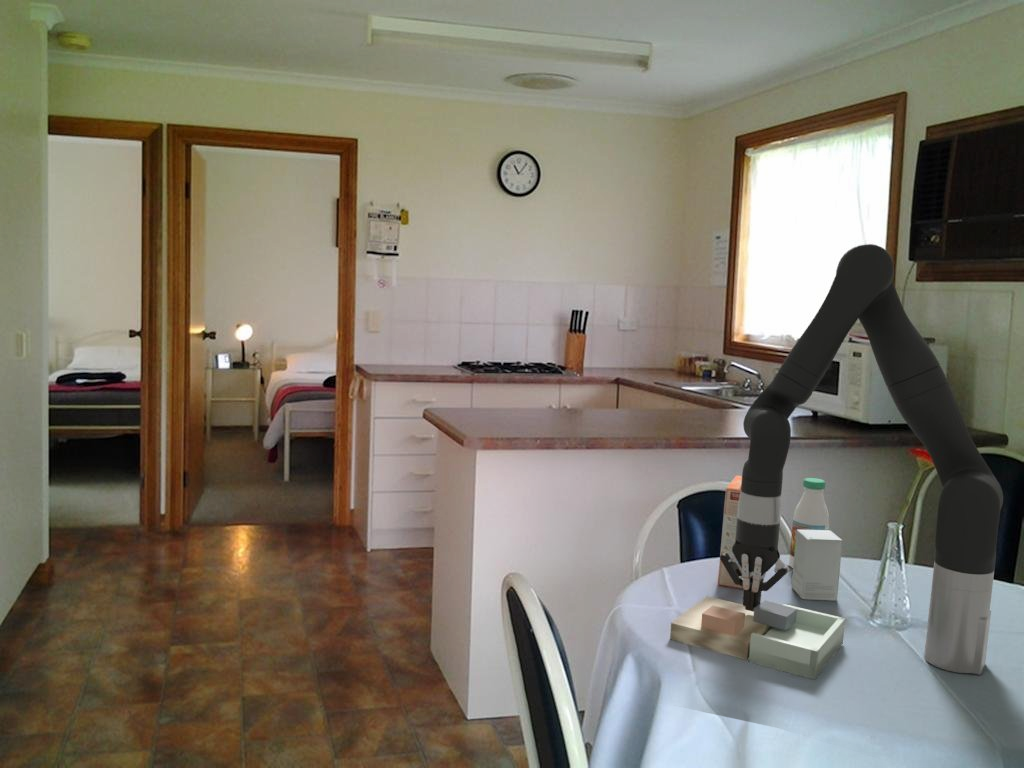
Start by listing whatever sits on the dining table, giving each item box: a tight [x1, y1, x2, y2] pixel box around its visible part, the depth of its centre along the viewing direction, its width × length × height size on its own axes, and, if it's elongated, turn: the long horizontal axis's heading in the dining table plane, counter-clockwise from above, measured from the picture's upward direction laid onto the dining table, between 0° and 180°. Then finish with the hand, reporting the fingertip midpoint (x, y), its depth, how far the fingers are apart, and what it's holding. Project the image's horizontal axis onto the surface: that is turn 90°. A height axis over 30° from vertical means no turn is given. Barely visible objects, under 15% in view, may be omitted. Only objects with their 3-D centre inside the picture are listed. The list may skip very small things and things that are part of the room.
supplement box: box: [791, 529, 843, 602], centre depth 195 cm, size 7×7×13 cm
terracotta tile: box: [701, 606, 745, 636], centre depth 168 cm, size 6×5×2 cm
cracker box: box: [717, 474, 744, 590], centre depth 202 cm, size 14×6×21 cm, turn 158°
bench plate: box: [669, 595, 772, 661], centre depth 172 cm, size 14×17×3 cm
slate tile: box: [753, 599, 797, 630], centre depth 171 cm, size 6×5×2 cm
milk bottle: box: [788, 477, 830, 569], centre depth 211 cm, size 8×8×20 cm
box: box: [748, 603, 846, 681], centre depth 165 cm, size 11×18×5 cm, turn 147°
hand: (750, 609), depth 174 cm, fingers closed
